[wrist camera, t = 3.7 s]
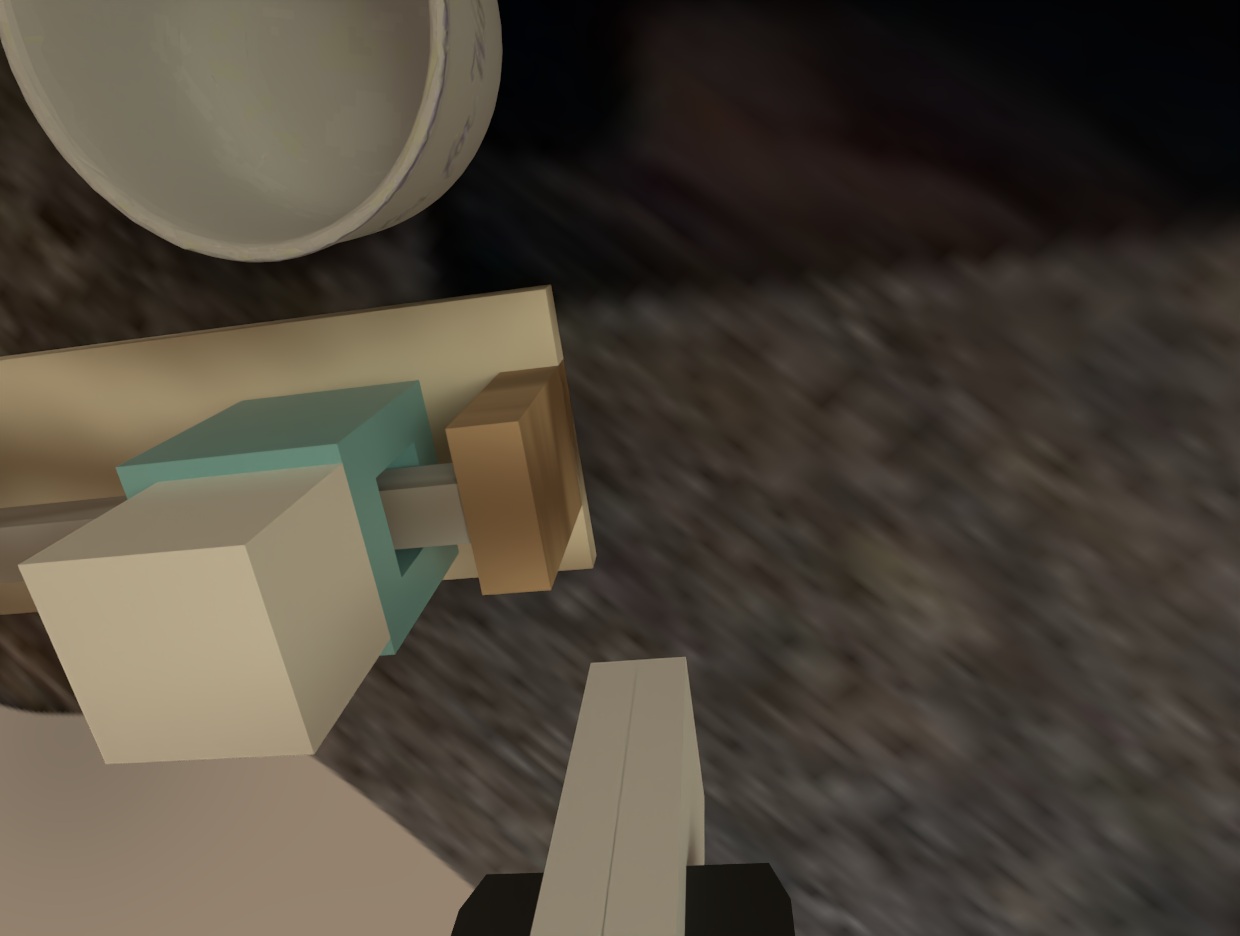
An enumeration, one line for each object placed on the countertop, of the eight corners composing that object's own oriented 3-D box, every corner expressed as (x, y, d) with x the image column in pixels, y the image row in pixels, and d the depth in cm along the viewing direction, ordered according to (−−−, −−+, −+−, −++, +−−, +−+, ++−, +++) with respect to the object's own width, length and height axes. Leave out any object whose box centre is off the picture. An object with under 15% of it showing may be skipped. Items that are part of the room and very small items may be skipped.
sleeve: (242, 400, 26) (-36, 546, 16) (419, 380, 25) (236, 521, 16) (293, 566, 28) (74, 783, 18) (459, 552, 27) (320, 772, 18)
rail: (-168, 378, 31) (-446, 449, 23) (551, 284, 27) (490, 334, 19) (-56, 608, 34) (-268, 733, 27) (596, 555, 30) (559, 686, 23)
